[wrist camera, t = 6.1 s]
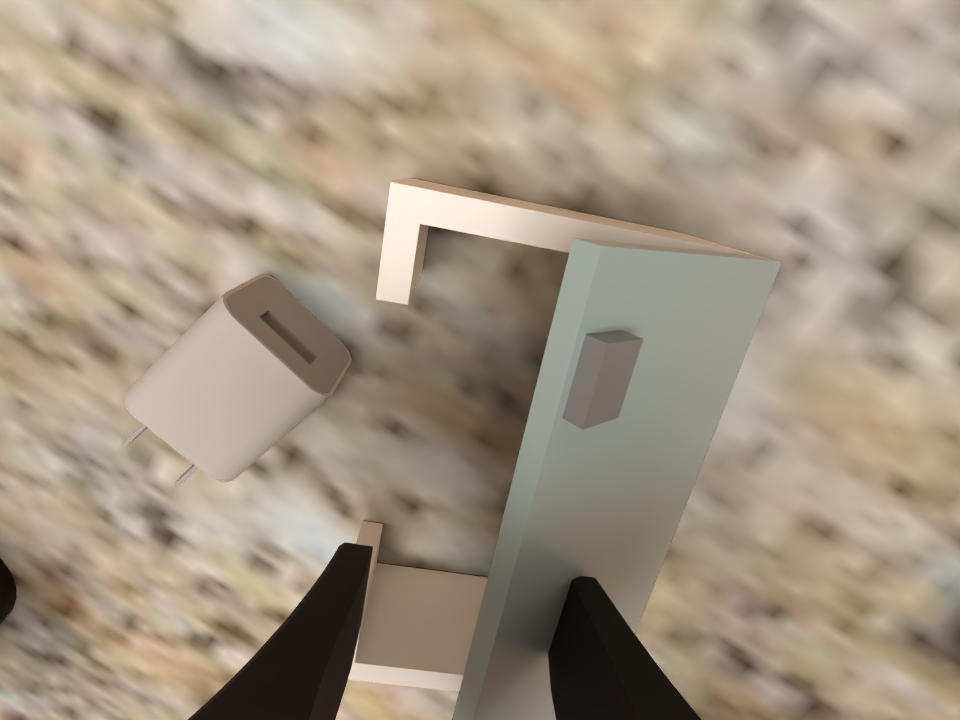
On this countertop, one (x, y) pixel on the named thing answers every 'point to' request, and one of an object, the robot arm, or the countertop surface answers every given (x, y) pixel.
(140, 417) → the usb wall charger
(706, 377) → the cover
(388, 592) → the c-shaped bracket
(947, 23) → the countertop surface
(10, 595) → the cup
